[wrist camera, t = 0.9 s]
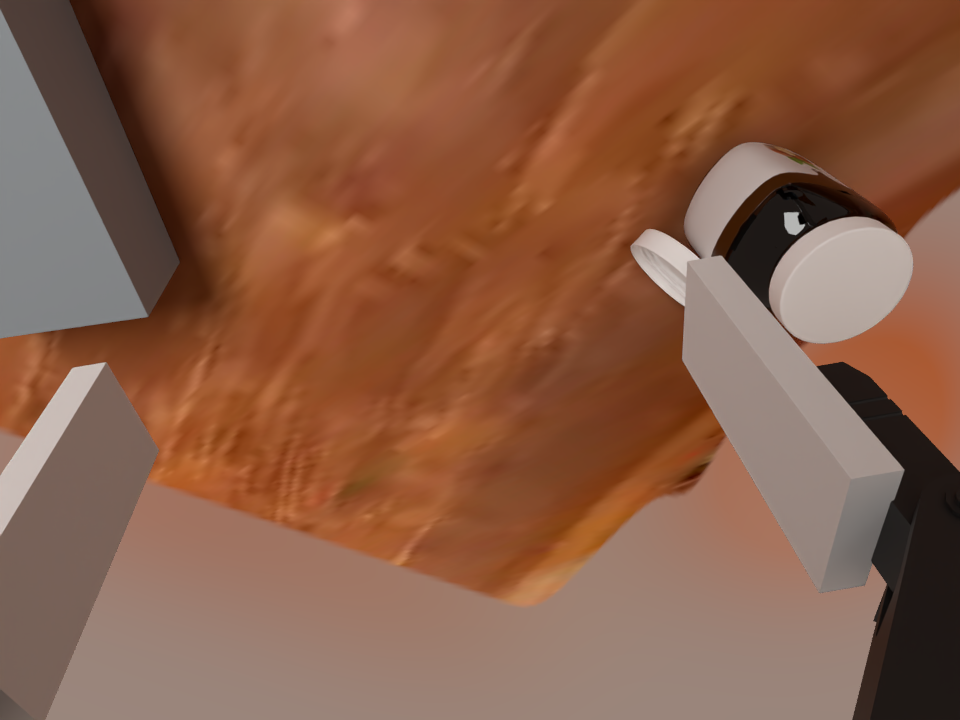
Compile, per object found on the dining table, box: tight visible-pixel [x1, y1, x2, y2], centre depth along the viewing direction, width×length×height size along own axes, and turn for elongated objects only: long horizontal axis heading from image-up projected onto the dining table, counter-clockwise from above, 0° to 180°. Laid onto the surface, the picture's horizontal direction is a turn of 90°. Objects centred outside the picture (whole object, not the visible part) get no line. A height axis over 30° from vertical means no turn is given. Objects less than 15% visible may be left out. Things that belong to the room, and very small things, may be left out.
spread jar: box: [631, 142, 913, 344], centre depth 39 cm, size 12×11×12 cm
